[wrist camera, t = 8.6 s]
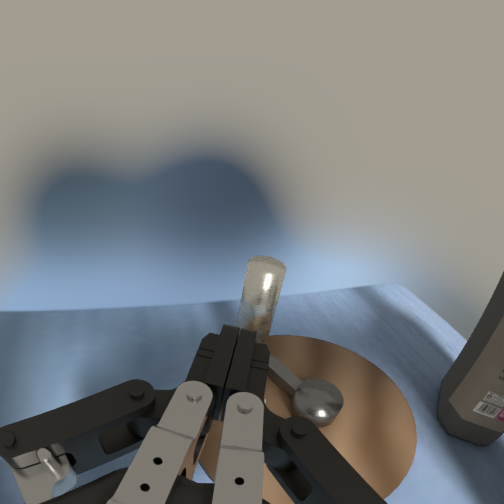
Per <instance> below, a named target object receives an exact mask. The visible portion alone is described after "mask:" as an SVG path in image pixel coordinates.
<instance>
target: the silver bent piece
mask: <svg viewBox="0 0 504 504" xmlns="http://www.w3.org/2000/svg"><path fill="white" fill-rule="evenodd" d="M285 272H286V266H285V265H284V264H283V263H282V262H280V261H279V260H277V259H275V258H272V257H267V256H255V257H252V258H250V259H249V261H248V267H247V272H246V277H245V282H244V287H243V293H242V298H241V303H240V308H239V313H238V319H237V324H236V327H239V328H240V330H241V328H245V329H249V330H254V331H257V334H256V339H255V342H256V343H261V344H266V343H267V340H268V336H269V333H270V329H271V325H272V321H273V318H274V314H275V310H276V306H277V303H278V299H279V295H280V291H281V287H282V284H283V279H284V276H285ZM239 334H240V331H239ZM238 338H239V337H238ZM267 375H268V376H269V377H270V378H271V379H272V380H273V381H275V382H276V383H277V384H278V385H279V386H280V387H281V388H282V389H283V390H285V391H286V392H287V393H288V394H289V395H290V396H291V397H293V398H292V401H291V404H290V408H291V412H292V414H293V416H301V417H305V418H307V419H309V420H310V421H312V422H313V423H314V424H315V426H316V427H317V428H321V427H325V426H328V425H330V424H331V423H332V422H333V421H334V420H335V418H336V417H337V415H338V414H339V412H340V410H341V409H342V407H343V404H344V399H343V396H342V393H341V392H340V390H339V389H338V388H337V387H336V386H335V385H333V384H331V383H330V382H328V381H325V380H321V379H309V380H305V381H303V382H302V381H301V380H300V379H299V378H298V377H297V376H295V375H294V374H293V373H292V372H291V371H289V370H288V369H287V368H286V367H285V366H284V365H282V364H281V363H280V362H279V361H278V360H277V359H276V358H274V357H273V356H272V355H271V354H270V358H269V366H268V373H267Z"/></svg>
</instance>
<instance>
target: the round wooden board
mask: <svg viewBox="0 0 504 504" xmlns="http://www.w3.org/2000/svg"><path fill="white" fill-rule="evenodd" d="M266 345H267V347H268V349H269V352H270V354H271V355H272V356H273V357H274V358H276V359H277V360H278V361H279V362H280V363H281V364H282V365H284V366H285V367H286V368H287V369H288V370H289V371H291V372H292V373H293V374H294V375H295V376H297V377H298V378H299V379H300V380H301V381H302V382H303V381H305V380H309V379H321V380H325V381H328V382H330V383H331V384H333V385H335V386H336V387H337V388H338V389H339V390H340V392H341V393H342V396H343V399H344V404H343V407H342V409H341V410H340V412H339V414H338V415H337V417H336V418H335V420H334V421H333V422H332V423H331V424H330V425H328V426H325V427H321V428H318V429H319V430H320V431H321V432H322V434H323V435H324V436H325V437H326V438H327V439H328V440H329V442H330V443H331V444H332V445H333V446H334V447H335V448H336V449H337V450H338V452H339V453H340V454H341V455H342V456H343V457H344V458H345V459H346V460H347V462H348V463H349V464H350V465H351V466H352V467H353V468H354V469H355V470H356V471H357V472H358V473H359V474H360V476H361V477H362V478H363V479H364V480H365V481H366V482H367V483H368V484H369V485H370V486H371V487H372V488H373V489H374V490H375V491H376V492H377V493H378V494H379V496H380V497H381V498H382V499H385V498H386V497H387V496H389V495H390V494H391V493H392V492H393V491H394V490H395V489H396V488H397V487H398V486H399V484H400V483H401V482H402V480H403V479H404V478H405V476H406V475H407V473H408V471H409V469H410V467H411V465H412V462H413V459H414V455H415V451H416V443H417V435H416V426H415V420H414V417H413V414H412V411H411V408H410V406H409V404H408V402H407V400H406V398H405V397H404V395H403V394H402V392H401V391H400V389H399V388H398V387H397V386H396V384H395V383H394V382H393V381H392V380H391V379H390V378H389V377H388V376H387V375H386V374H385V373H384V372H383V371H382V370H380V369H379V368H378V367H377V366H376V365H374V364H373V363H371V362H370V361H368V360H367V359H365V358H364V357H362V356H360V355H358V354H357V353H355V352H352V351H350V350H348V349H346V348H344V347H341V346H339V345H336V344H333V343H330V342H327V341H323V340H319V339H314V338H309V337H302V336H291V335H275V336H268V340H267V343H266ZM292 398H293V397H291V396H290V395H289V394H288V393H287V392H286V391H285V390H283V389H282V388H281V387H280V386H279V385H278V384H277V383H276V382H275V381H273V380H272V379H271V378H270V377H269V376H268V375H267V380H266V387H265V394H264V402H265V404H266V406H267V407H268V409H269V410H270V411H271V412H273V413H274V414H276V415H278V416H280V417H283V418H285V419H287V418H289V417H292V416H293V414H292V412H291V408H290V404H291V401H292ZM221 411H222V409H221ZM220 418H221V413H220V416H219V420H218V421H216V420H213V421H212V425H211V429H210V431H209V433H208V437H207V439H206V442H205V444H204V447H203V449H202V452H201V454H200V457H199V460H198V461H199V463H200V465H201V466H202V468H203V470H204V471H205V473H206V474H207V476H208V477H209V478H210V479H211V480H212V481H213V483H214V479H215V472H216V466H217V459H218V452H219V446H220V439H221V433H222V428H223V422H221V421H220ZM262 498H263V499H265V500H266V501H268V502H269V503H271V504H295V503H294V502H293V501H292V500H291V498H290V497H289V496H288V495H287V493H286V492H285V491H284V489H283V488H282V487H281V485H280V484H279V483H278V481H277V480H276V479H275V477H274V476H273V475H272V473H271V472H270V471H269V469H268V468H267V466H266V463H264V473H263V492H262Z"/></svg>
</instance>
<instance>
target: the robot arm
mask: <svg viewBox="0 0 504 504" xmlns="http://www.w3.org/2000/svg"><path fill="white" fill-rule="evenodd" d="M239 331H240V334H239ZM256 334H257V331H254V330H249V329H245V328H241V330H240V328H239V327H235V326H230V325H225V324H224V325H223V328H222V331H221V333H220V335H218V334H213V333H209V334H208V335H207V336H205V337H204V338H203V339H202V341H201V343H200V346H199V349H198V351H197V353H196V356H195V358H194V361H193V363H192V366H191V368H190V371H189V373H188V376H187V378H186V380H185V382H184V383H182V384H181V385H179V386H178V388H176V389H172V390H154V388H153V387H152V386H151V385H150V384H149V383H148V382H146V381H143V380H138V379H135V380H129V381H127V382H124V383H122V384H119V385H117V386H114V387H112V388H109V389H107V390H104V391H102V392H99V393H97V394H94V395H92V396H89V397H86V398H84V399H81V400H78V401H76V402H73V403H70V404H68V405H65V406H62V407H59V408H57V409H54V410H51V411H48V412H45V413H42V414H40V415H37V416H34V417H31V418H28V419H25V420H22V421H19V422H16V423H13V424H9V425H6V426H3V427H1V428H0V455H1V457H2V458H3V459H4V460H5V462H6V463H7V464H8V465H9V466H10V467H11V469H12V472H13V475H14V477H15V480H16V482H17V485H18V487H19V489H20V492H21V494H22V496H23V498H24V501H25V503H26V504H271V503H269V502H268V501H266V500H265V499H263V498H262V492H263V473H264V463H266V466H267V468H268V469H269V471H270V472H271V473H272V475H273V476H274V477H275V479H276V480H277V481H278V483H279V484H280V485H281V487H282V488H283V489H284V491H285V492H286V493H287V495H288V496H289V497H290V498H291V500H292V501H293V502H294V503H295V504H387V503H386V502H385V501H384V500H383V499H382V498H381V497H380V496H379V494H378V493H377V492H376V491H375V490H374V489H373V488H372V487H371V486H370V485H369V484H368V483H367V482H366V481H365V480H364V479H363V478H362V477H361V476H360V474H359V473H358V472H357V471H356V470H355V469H354V468H353V467H352V466H351V465H350V464H349V463H348V462H347V460H346V459H345V458H344V457H343V456H342V455H341V454H340V453H339V452H338V450H337V449H336V448H335V447H334V446H333V445H332V444H331V443H330V442H329V440H328V439H327V438H326V437H325V436H324V435H323V434H322V432H321V431H320V430H319V429H318V428H317V427H316V426H315V424H314V423H313V422H312V421H310V420H309V419H307V418H305V417H301V416H292V417H289V418H287V419H285V418H283V417H280V416H278V415H276V414H274V413H273V412H271V411H270V410H269V409H268V407H267V406H266V404H265V402H264V394H265V387H266V380H267V373H268V366H269V358H270V352H269V349H268V347H267V345H266V344H261V343H256V342H255V339H256ZM238 337H239V338H238ZM221 409H222V411H221ZM220 413H221V418H220V421H221V422H223V428H222V433H221V439H220V446H219V452H218V459H217V466H216V472H215V479H214V483H196V482H194V481H192V478H193V474H194V470H195V467H196V465H197V462H198V460H199V457H200V454H201V452H202V449H203V447H204V444H205V442H206V439H207V437H208V433H209V431H210V429H211V425H212V421H213V420H216V421H218V420H219V416H220ZM137 448H139V450H138V452H137V453H136V455H135V457H134V459H133V461H132V463H131V465H130V466H129V467H127V468H122V469H119V470H116V471H113V472H111V473H109V474H107V475H105V476H103V477H100V478H98V479H96V480H94V481H92V482H90V483H87V484H85V485H83V486H81V487H78V488H76V489H74V490H72V491H69V492H67V491H68V490H70V489H72V488H73V487H74V486H75V484H76V482H77V475H78V474H80V473H83V472H85V471H88V470H90V469H93V468H95V467H97V466H100V465H102V464H104V463H107V462H109V461H111V460H114V459H116V458H118V457H120V456H122V455H125V454H127V453H129V452H131V451H133V450H135V449H137ZM66 492H67V493H66Z"/></svg>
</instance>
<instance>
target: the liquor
mask: <svg viewBox="0 0 504 504" xmlns="http://www.w3.org/2000/svg"><path fill="white" fill-rule="evenodd" d="M437 418H438V420H439V421H440V423H441V424H442V425H443V427H444V428H445V430H446V431H447V433H448V434H449V435H452V436H455V437H458V438H460V439H463V440H466V441H469V442H472V443H475V444H478V445H481V446H484V445H488V444H490V443H491V442H493V441H494V440H496V439H497V438H498V437H500V436H501V435H502V434H503V433H504V272H503V274H502V276H501V279H500V281H499V283H498V285H497V287H496V289H495V291H494V293H493V295H492V298H491V299H490V302H489V303H488V305H487V307H486V309H485V311H484V313H483V315H482V317H481V319H480V321H479V322H478V324H477V326H476V328H475V329H474V331H473V333H472V334H471V337H470V338H469V340H468V341H467V343H466V345H465V346H464V348H463V349H462V351H461V353H460V354H459V356H458V357H457V359H456V361H455V362H454V364H453V365H452V367H451V368H450V370H449V371H448V373H447V374H446V376H445V377H444V379H443V380H442V383H441V390H440V399H439V407H438V414H437Z"/></svg>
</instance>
